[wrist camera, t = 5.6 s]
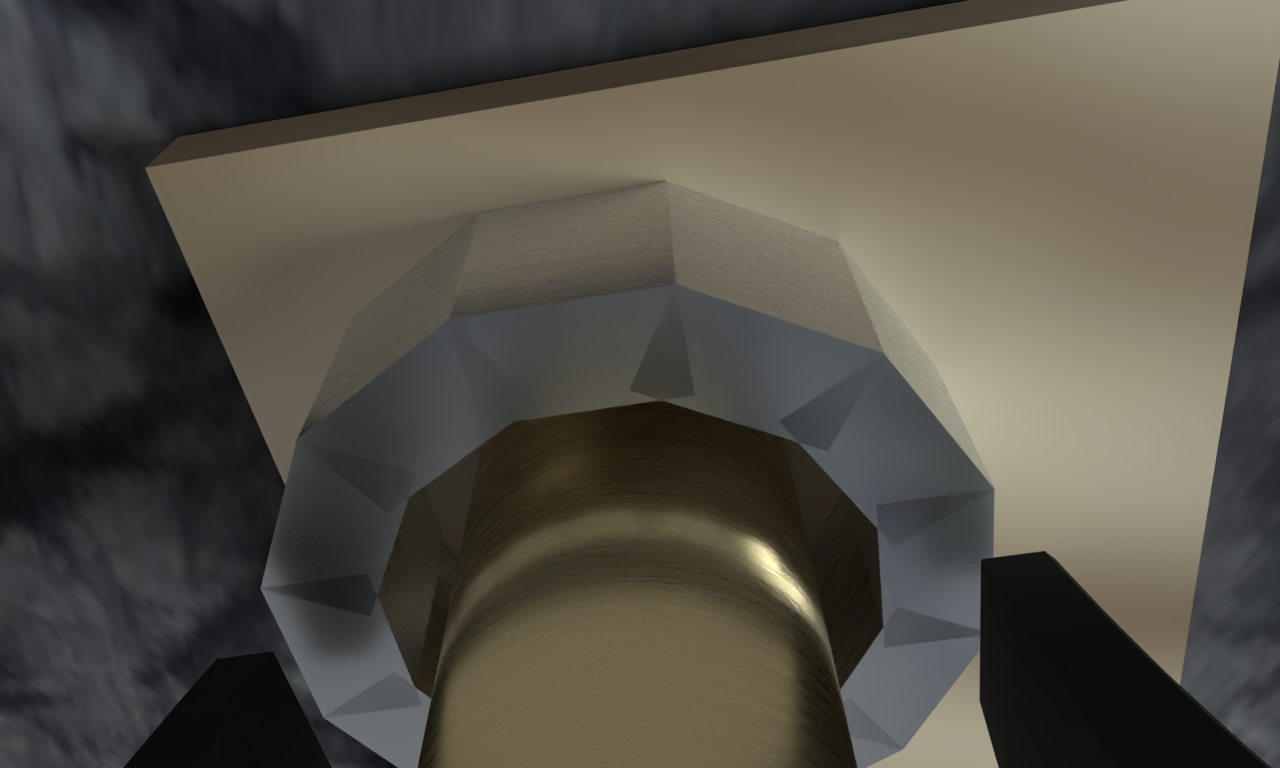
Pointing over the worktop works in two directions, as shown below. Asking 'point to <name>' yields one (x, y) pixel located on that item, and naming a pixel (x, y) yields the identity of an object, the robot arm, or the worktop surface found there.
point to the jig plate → (845, 244)
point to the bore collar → (616, 376)
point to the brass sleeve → (635, 603)
